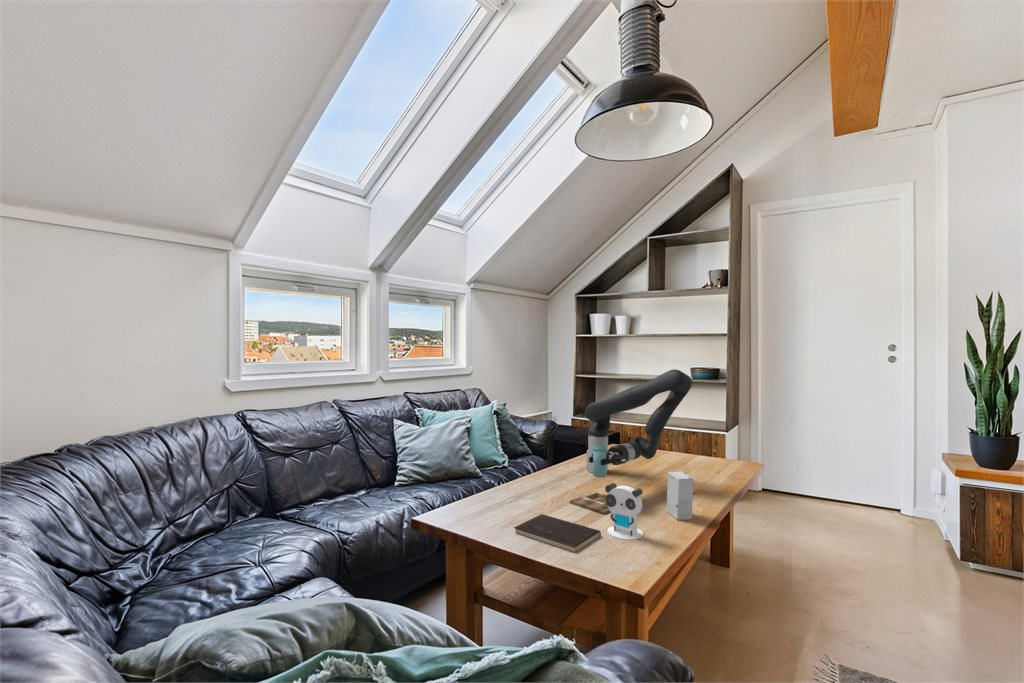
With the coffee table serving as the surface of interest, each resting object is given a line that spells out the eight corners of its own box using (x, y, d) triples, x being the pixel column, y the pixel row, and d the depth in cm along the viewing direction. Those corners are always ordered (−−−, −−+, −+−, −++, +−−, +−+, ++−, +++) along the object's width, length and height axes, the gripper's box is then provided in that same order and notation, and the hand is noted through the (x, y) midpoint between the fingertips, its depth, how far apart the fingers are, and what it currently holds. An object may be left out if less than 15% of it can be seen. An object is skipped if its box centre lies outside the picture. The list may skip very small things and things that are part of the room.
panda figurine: (599, 532, 155) (599, 486, 155) (616, 522, 163) (616, 479, 163) (632, 543, 147) (633, 494, 147) (649, 532, 155) (649, 486, 155)
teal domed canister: (589, 475, 182) (589, 447, 182) (598, 472, 186) (598, 444, 186) (601, 478, 178) (601, 449, 178) (609, 475, 182) (609, 447, 182)
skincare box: (666, 512, 173) (666, 471, 173) (681, 511, 174) (681, 470, 174) (677, 520, 165) (677, 478, 165) (693, 519, 166) (693, 477, 166)
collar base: (569, 503, 183) (569, 497, 183) (595, 494, 193) (595, 488, 193) (603, 514, 171) (603, 507, 171) (629, 504, 182) (629, 497, 182)
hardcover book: (574, 554, 140) (574, 546, 140) (513, 534, 155) (513, 527, 155) (600, 537, 153) (600, 530, 153) (542, 520, 167) (542, 513, 167)
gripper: (606, 441, 197) (580, 448, 185) (636, 447, 186) (611, 454, 175) (606, 459, 197) (580, 467, 185) (637, 466, 186) (611, 475, 175)
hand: (595, 461), depth 180 cm, fingers closed on teal domed canister, 5 cm apart
